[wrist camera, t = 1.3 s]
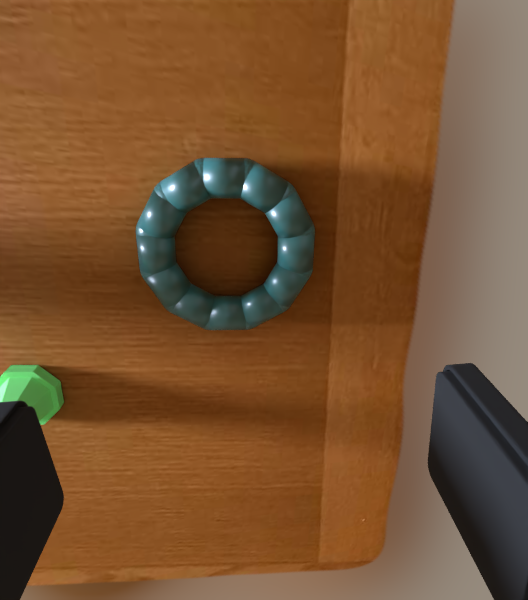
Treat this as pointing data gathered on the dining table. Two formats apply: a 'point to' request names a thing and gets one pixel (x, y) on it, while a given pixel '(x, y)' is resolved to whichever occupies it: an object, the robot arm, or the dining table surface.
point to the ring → (225, 184)
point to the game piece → (32, 389)
